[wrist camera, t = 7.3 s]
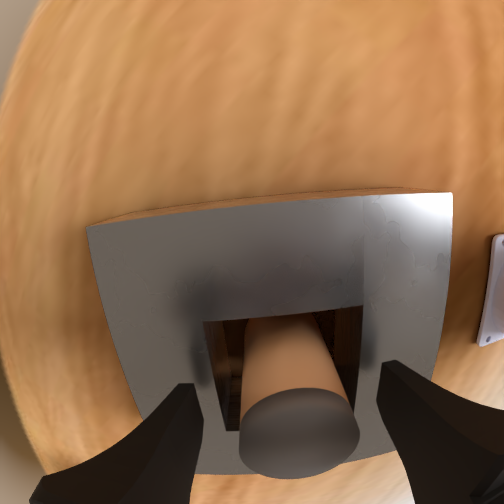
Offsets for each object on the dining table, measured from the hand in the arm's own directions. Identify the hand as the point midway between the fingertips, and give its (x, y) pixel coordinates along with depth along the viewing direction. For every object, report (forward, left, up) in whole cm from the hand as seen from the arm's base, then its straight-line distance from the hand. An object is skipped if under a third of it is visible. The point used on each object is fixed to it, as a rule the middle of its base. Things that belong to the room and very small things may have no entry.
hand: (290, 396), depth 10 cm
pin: (0, 0, -6) cm, 6 cm away
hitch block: (0, 0, -6) cm, 6 cm away
